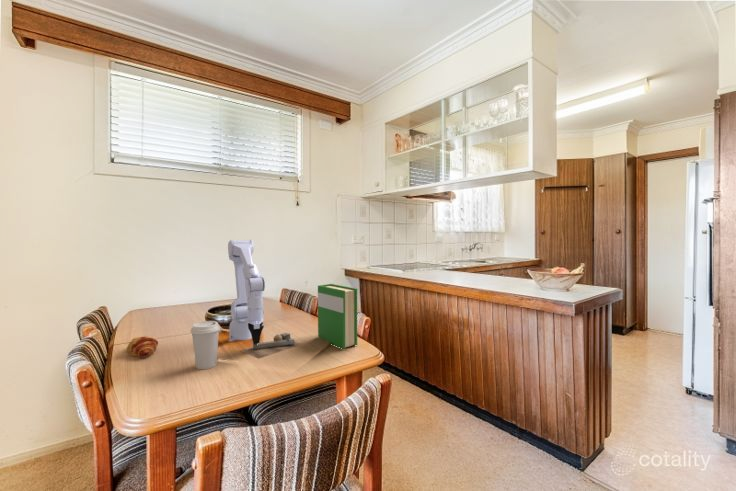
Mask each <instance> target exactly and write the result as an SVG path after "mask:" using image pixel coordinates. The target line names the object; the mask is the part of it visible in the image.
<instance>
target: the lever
mask: <svg viewBox="0 0 736 491" xmlns="http://www.w3.org/2000/svg"><path fill="white" fill-rule="evenodd" d="M295 342H296V341H295V339H294V338H291V337H290V338H288V339H287V340H280V341H274V340H273V341H264V342H259V343H258V344H253V343H252V348H253V349H258V348H266V347H275V346H283V345H291V344H295Z"/></svg>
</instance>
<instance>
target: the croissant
mask: <svg viewBox="0 0 736 491" xmlns="http://www.w3.org/2000/svg"><path fill="white" fill-rule="evenodd" d="M158 344H159V342H158V340H157V339H156V338H155V337H153V336H146V335H144V336H138V337H134V338H132V339H131V340H130V341H129V342H128V345H127V347H126V354H129V356H132V357H137V358H141V359H143V358H144V359H145V358H147V357H150V356H152V355H153V354H154V353H155V352H156V350H157V346H158Z"/></svg>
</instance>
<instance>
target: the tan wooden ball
mask: <svg viewBox="0 0 736 491" xmlns="http://www.w3.org/2000/svg"><path fill="white" fill-rule="evenodd" d="M282 339H283V338H282V336H281V335H280V334H275V336H274V337H273V341H280V340H282Z"/></svg>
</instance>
